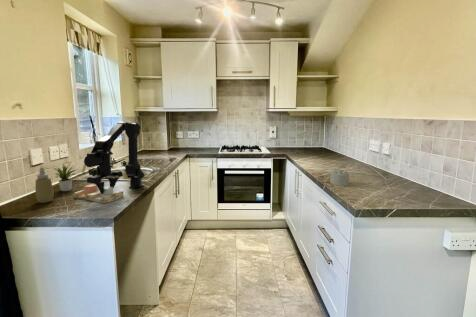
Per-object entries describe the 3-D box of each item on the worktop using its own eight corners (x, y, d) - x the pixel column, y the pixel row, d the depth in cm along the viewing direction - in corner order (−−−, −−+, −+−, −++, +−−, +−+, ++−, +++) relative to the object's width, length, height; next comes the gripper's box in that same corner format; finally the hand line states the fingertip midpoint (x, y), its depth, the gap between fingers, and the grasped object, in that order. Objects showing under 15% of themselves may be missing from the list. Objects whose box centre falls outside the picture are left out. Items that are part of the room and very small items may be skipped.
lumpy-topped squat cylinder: (344, 181, 187) (345, 168, 186) (351, 186, 174) (352, 172, 173) (328, 181, 187) (329, 168, 186) (334, 186, 174) (335, 172, 173)
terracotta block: (97, 193, 155) (97, 185, 154) (90, 195, 151) (89, 187, 150) (92, 192, 157) (91, 184, 156) (84, 194, 153) (84, 186, 152)
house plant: (65, 194, 157) (62, 166, 154) (45, 193, 160) (42, 165, 157) (84, 188, 171) (81, 162, 168) (65, 186, 173) (62, 161, 171)
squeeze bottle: (39, 200, 147) (34, 166, 144) (56, 198, 150) (53, 165, 147) (34, 204, 140) (29, 169, 137) (52, 202, 143) (48, 168, 140)
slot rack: (93, 192, 162) (93, 187, 161) (123, 196, 153) (123, 191, 152) (74, 197, 151) (74, 192, 150) (105, 203, 142) (105, 197, 141)
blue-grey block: (113, 196, 151) (113, 187, 150) (106, 198, 147) (106, 189, 146) (107, 195, 152) (106, 186, 152) (100, 197, 148) (99, 188, 147)
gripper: (107, 160, 158) (109, 186, 161) (77, 165, 141) (80, 195, 144) (122, 161, 154) (124, 188, 156) (93, 167, 137) (96, 197, 139)
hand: (106, 192), depth 149 cm, fingers open, 6 cm apart
